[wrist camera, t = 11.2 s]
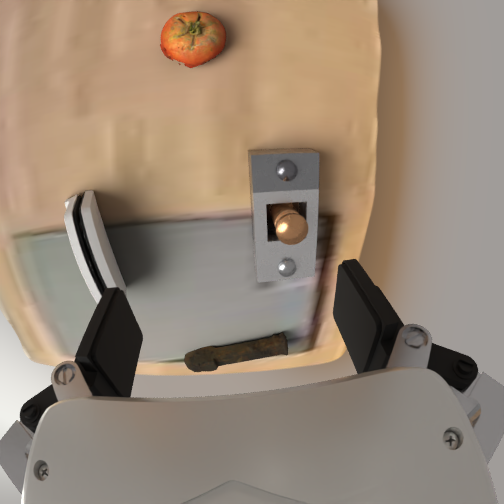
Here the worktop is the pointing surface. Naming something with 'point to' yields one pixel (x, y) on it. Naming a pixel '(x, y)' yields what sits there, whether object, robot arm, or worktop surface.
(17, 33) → the worktop surface
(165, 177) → the worktop surface
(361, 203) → the worktop surface
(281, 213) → the pin
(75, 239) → the grey toaster
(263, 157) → the grey latch plate
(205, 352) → the dark brown rounded rod
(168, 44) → the tomato
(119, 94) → the worktop surface
